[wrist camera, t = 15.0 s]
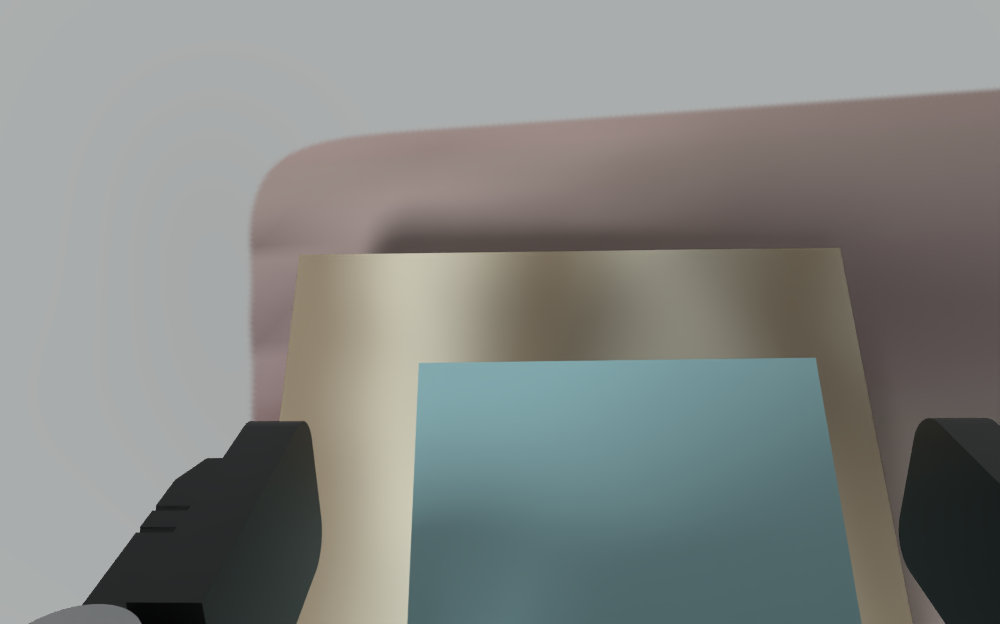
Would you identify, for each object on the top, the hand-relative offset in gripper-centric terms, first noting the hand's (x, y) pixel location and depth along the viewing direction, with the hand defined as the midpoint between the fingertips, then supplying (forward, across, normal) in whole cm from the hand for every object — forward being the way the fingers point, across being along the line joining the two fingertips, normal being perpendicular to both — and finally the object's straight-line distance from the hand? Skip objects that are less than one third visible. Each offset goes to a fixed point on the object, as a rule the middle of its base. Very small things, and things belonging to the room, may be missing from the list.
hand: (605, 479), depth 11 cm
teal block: (+4, 0, +6) cm, 8 cm away
